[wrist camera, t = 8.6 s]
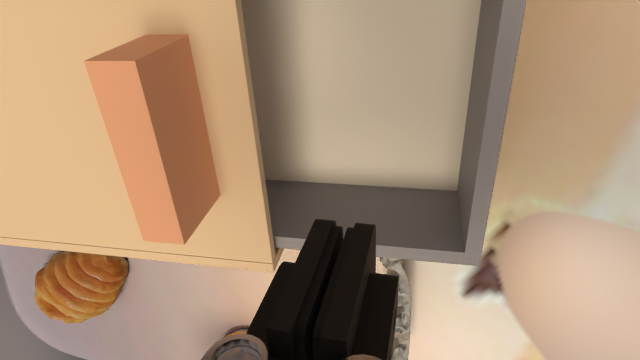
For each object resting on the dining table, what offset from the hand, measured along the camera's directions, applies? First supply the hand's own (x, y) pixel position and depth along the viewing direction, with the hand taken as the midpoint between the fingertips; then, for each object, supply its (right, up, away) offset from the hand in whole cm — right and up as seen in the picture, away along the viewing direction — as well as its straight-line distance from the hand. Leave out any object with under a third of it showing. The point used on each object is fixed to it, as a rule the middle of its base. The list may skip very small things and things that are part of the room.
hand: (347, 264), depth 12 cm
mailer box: (-1, +9, +14) cm, 16 cm away
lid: (-14, +7, +11) cm, 19 cm away
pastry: (-22, -6, +28) cm, 36 cm away
